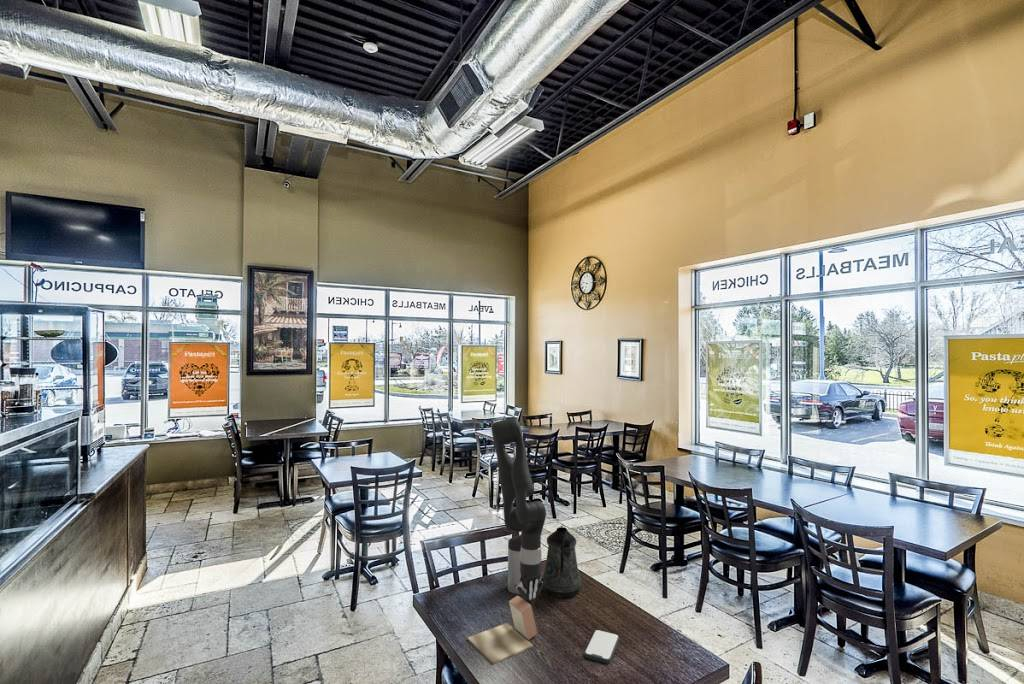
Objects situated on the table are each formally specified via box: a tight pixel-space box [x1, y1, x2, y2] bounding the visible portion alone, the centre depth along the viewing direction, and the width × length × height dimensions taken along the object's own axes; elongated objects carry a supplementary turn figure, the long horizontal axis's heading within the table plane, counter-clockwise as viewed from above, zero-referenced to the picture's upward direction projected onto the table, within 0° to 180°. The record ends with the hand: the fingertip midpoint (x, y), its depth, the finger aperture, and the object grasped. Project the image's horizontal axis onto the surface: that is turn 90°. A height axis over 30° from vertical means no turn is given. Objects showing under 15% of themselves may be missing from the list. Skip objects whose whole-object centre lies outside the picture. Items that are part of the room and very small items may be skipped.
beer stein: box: [542, 526, 582, 599], centre depth 203 cm, size 16×19×25 cm
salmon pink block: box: [508, 595, 538, 641], centre depth 171 cm, size 4×8×11 cm, turn 35°
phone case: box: [583, 629, 620, 664], centre depth 164 cm, size 9×2×16 cm
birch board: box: [467, 622, 534, 665], centre depth 166 cm, size 16×16×1 cm
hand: (530, 608), depth 173 cm, fingers closed
